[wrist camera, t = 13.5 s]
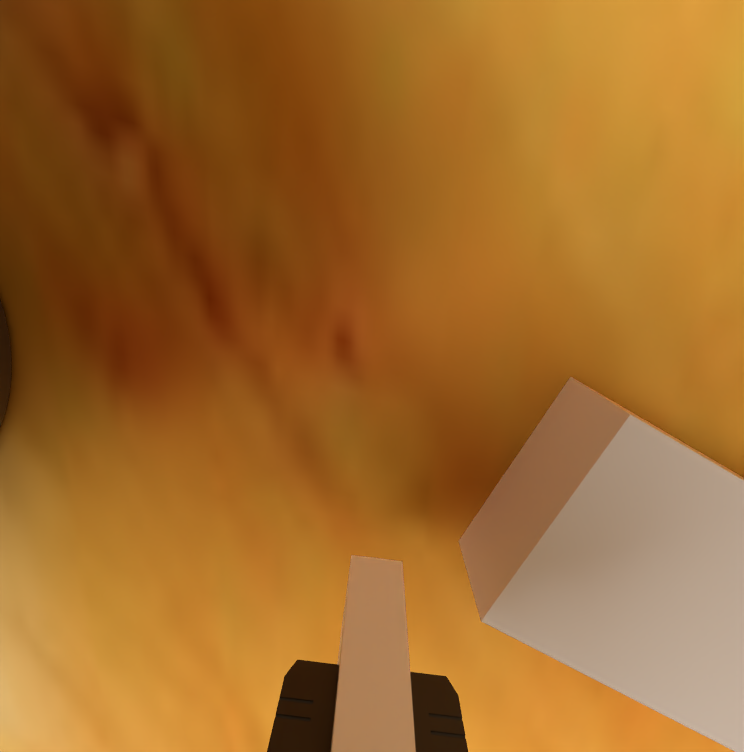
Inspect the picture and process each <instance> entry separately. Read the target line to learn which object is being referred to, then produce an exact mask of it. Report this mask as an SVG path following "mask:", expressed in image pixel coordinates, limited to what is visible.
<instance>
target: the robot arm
mask: <svg viewBox="0 0 744 752" xmlns="http://www.w3.org/2000/svg"><path fill="white" fill-rule="evenodd" d="M10 385H11V346H10V339H9V332H8V326H7V322H6V318H5V313H4V310H3V307H2V303H1V300H0V426H1V423H2V421H3V418H4V415H5V411H6V407H7V403H8V398H9V392H10ZM267 752H468V748H467V743H466V739H465V731H464V726H463V721H462V714H461V709H460V703H459V697H458V695H457V693H456V691H455V690H454V688H453V686H452V685H451V683H450V682H449V680H448V678H447V677H446V676H439V675H431V674H422V673H414V672H410V662H409V648H408V634H407V619H406V605H405V590H404V576H403V562H402V561H396V560H388V559H380V558H372V557H364V556H356V555H351V562H350V569H349V577H348V584H347V592H346V600H345V607H344V615H343V622H342V630H341V638H340V647H339V656H338V665H337V664H328V663H320V662H312V661H304V660H297V661H296V662H295V664H294V665H293V666H292V667H291V669H290V670H289V671H288V672H287V674H286V675H285V677H284V681H283V685H282V690H281V694H280V699H279V703H278V707H277V711H276V717H275V720H274V724H273V729H272V733H271V737H270V741H269V746H268V750H267Z"/></svg>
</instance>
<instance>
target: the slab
mask: <svg viewBox="0 0 744 752" xmlns="http://www.w3.org/2000/svg"><path fill="white" fill-rule="evenodd" d="M459 545H460V548H461V552H462V555H463V559H464V562H465V566H466V570H467V573H468V577H469V580H470V584H471V587H472V591H473V595H474V598H475V602H476V605H477V609H478V612H479V616H480V619H481V621H482V622H483V623H485V624H487V625H489V626H491V627H493V628H495V629H497V630H499V631H501V632H503V633H505V634H507V635H509V636H511V637H513V638H515V639H517V640H519V641H521V642H522V643H524V644H526V645H528V646H530V647H532V648H534V649H536V650H538V651H540V652H542V653H544V654H546V655H548V656H550V657H552V658H554V659H556V660H558V661H560V662H561V663H563V664H565V665H567V666H569V667H571V668H573V669H575V670H577V671H579V672H581V673H583V674H585V675H587V676H589V677H591V678H593V679H595V680H597V681H599V682H601V683H602V684H604V685H606V686H608V687H610V688H612V689H614V690H616V691H618V692H620V693H622V694H624V695H626V696H628V697H630V698H632V699H634V700H636V701H638V702H640V703H641V704H643V705H645V706H647V707H649V708H651V709H653V710H655V711H657V712H659V713H661V714H663V715H665V716H667V717H669V718H671V719H673V720H675V721H677V722H679V723H680V724H682V725H684V726H686V727H688V728H690V729H692V730H694V731H696V732H698V733H700V734H702V735H704V736H706V737H708V738H710V739H712V740H714V741H716V742H718V743H719V744H721V745H723V746H725V747H727V748H729V749H731V750H733V751H735V752H744V478H743V477H742V476H740V475H738V474H737V473H735V472H733V471H731V470H730V469H728V468H726V467H725V466H723V465H721V464H720V463H718V462H716V461H714V460H713V459H711V458H709V457H708V456H706V455H704V454H702V453H701V452H699V451H697V450H696V449H694V448H692V447H690V446H689V445H687V444H685V443H684V442H682V441H680V440H678V439H677V438H675V437H673V436H672V435H670V434H668V433H666V432H665V431H663V430H661V429H660V428H658V427H656V426H655V425H653V424H651V423H649V422H648V421H646V420H644V419H643V418H641V417H639V416H637V415H636V414H634V413H632V412H631V411H629V410H627V409H625V408H624V407H622V406H620V405H619V404H617V403H615V402H613V401H612V400H610V399H608V398H607V397H605V396H603V395H601V394H600V393H598V392H596V391H595V390H593V389H591V388H590V387H588V386H586V385H584V384H583V383H581V382H579V381H578V380H576V379H574V378H572V377H570V378H569V380H568V381H567V383H566V384H565V386H564V387H563V388H562V390H561V391H560V393H559V394H558V396H557V397H556V399H555V400H554V402H553V403H552V405H551V406H550V408H549V409H548V410H547V412H546V413H545V415H544V416H543V418H542V419H541V421H540V422H539V424H538V425H537V427H536V428H535V430H534V431H533V432H532V434H531V435H530V437H529V438H528V440H527V441H526V443H525V444H524V446H523V447H522V449H521V450H520V452H519V453H518V454H517V456H516V457H515V459H514V460H513V462H512V463H511V465H510V466H509V468H508V469H507V471H506V472H505V474H504V475H503V476H502V478H501V479H500V481H499V482H498V484H497V485H496V487H495V488H494V490H493V491H492V493H491V494H490V496H489V497H488V498H487V500H486V501H485V503H484V504H483V506H482V507H481V509H480V510H479V512H478V513H477V515H476V516H475V518H474V519H473V520H472V522H471V523H470V525H469V526H468V528H467V529H466V531H465V532H464V534H463V535H462V537H461V538H460V540H459Z"/></svg>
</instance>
